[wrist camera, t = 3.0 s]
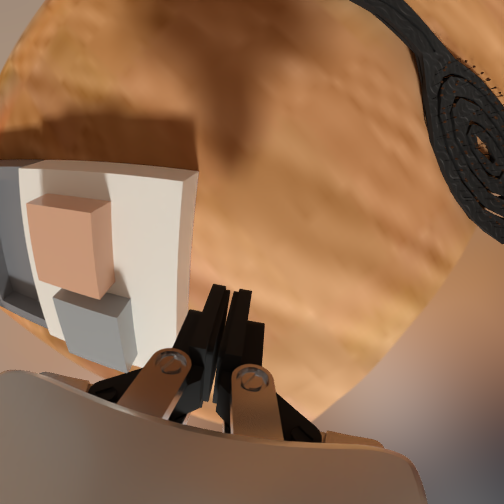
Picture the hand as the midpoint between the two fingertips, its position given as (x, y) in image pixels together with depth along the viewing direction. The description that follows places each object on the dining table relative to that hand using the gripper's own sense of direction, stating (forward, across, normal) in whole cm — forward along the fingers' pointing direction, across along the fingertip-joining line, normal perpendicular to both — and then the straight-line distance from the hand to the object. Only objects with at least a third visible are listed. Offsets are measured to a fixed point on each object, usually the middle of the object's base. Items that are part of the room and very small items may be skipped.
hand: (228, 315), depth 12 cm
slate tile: (+3, +9, +5) cm, 11 cm away
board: (+6, +9, +2) cm, 11 cm away
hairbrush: (+6, -10, -14) cm, 18 cm away
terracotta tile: (+3, +10, -1) cm, 10 cm away
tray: (+6, +20, +2) cm, 21 cm away
